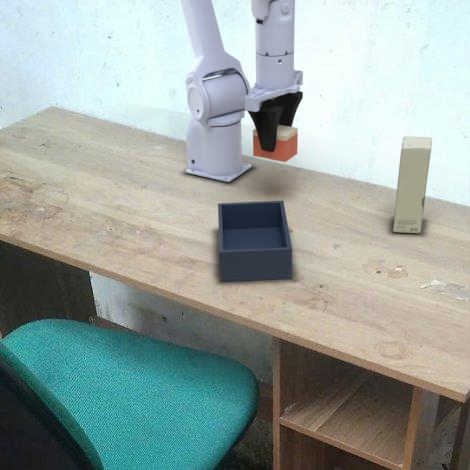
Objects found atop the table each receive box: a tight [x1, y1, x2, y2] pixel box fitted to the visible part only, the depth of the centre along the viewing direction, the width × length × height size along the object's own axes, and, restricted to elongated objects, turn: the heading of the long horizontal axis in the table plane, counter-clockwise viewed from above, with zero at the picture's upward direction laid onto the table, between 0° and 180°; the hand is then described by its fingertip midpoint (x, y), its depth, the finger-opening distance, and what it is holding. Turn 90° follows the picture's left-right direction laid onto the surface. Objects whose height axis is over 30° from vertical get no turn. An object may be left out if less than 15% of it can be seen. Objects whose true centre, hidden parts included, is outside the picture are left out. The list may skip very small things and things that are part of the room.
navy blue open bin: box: [217, 200, 293, 283], centre depth 119 cm, size 16×10×5 cm, turn 2°
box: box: [392, 135, 433, 234], centre depth 121 cm, size 5×4×13 cm
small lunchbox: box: [252, 125, 299, 163], centre depth 127 cm, size 6×4×4 cm, turn 58°
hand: (274, 145), depth 127 cm, fingers closed on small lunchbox, 4 cm apart
